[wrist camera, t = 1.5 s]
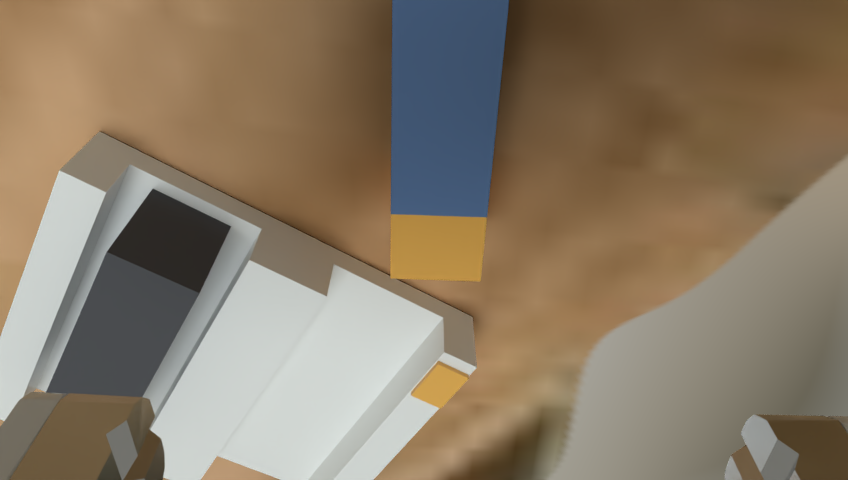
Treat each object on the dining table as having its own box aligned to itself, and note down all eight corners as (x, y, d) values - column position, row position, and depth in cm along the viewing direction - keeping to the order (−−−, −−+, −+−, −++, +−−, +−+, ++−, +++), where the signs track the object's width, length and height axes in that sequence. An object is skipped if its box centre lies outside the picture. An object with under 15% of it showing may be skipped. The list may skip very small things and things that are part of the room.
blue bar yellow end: (399, -147, 19) (393, -137, 15) (505, -143, 19) (522, -132, 15) (395, 216, 25) (390, 278, 22) (473, 218, 25) (480, 281, 22)
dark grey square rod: (152, 188, 23) (106, 251, 20) (231, 226, 24) (199, 293, 21) (61, 390, 29) (14, 465, 26) (128, 414, 30) (90, 491, 27)
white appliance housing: (99, 131, 23) (56, 173, 21) (472, 317, 28) (477, 370, 25) (13, 359, 29) (-29, 414, 27) (330, 480, 34) (322, 537, 31)
